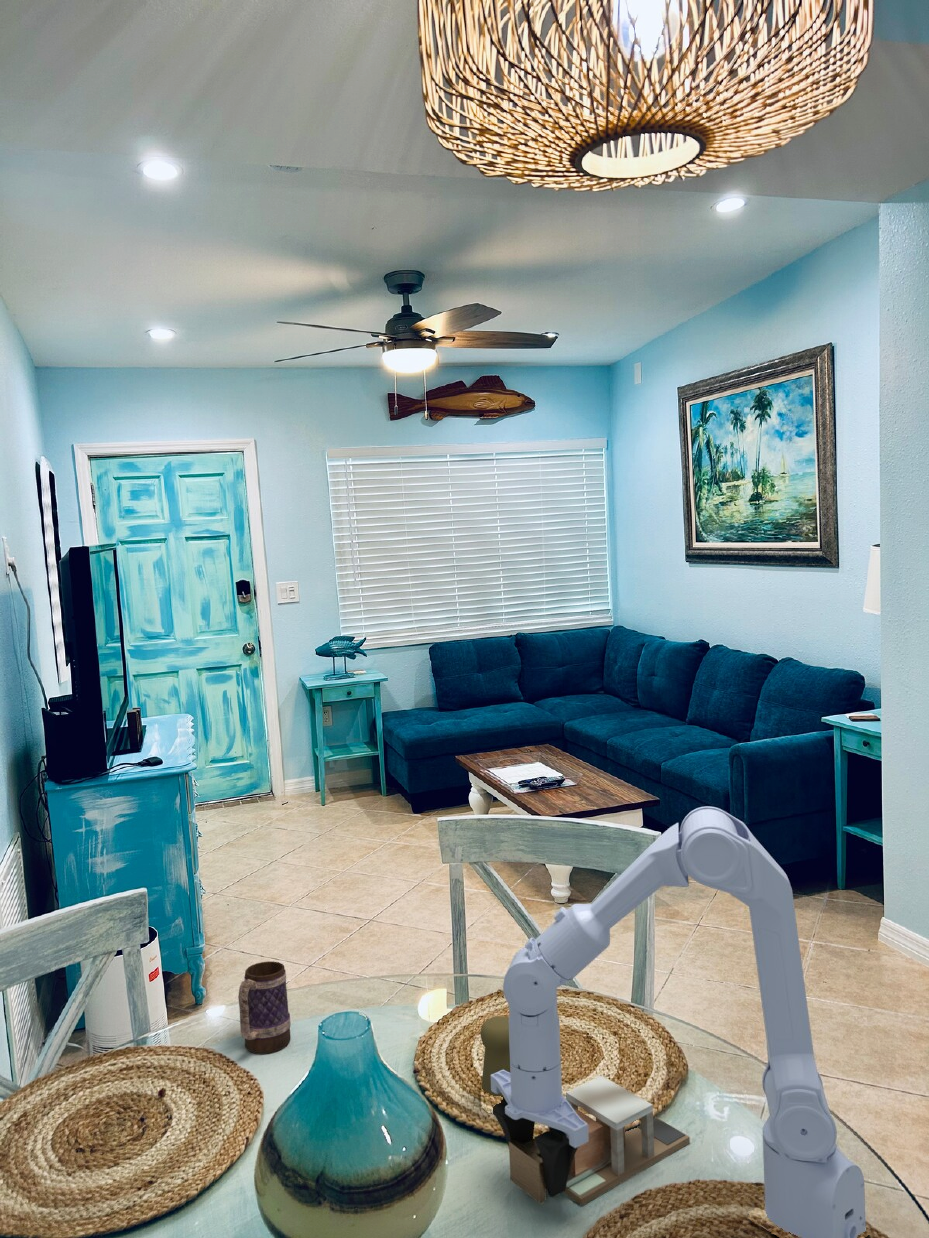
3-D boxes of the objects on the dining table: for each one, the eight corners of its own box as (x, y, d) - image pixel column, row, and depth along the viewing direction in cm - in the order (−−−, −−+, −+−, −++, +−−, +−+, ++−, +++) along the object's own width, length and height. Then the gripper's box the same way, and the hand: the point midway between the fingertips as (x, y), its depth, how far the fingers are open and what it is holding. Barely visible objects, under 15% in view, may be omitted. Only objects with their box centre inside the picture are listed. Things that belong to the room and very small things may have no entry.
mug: (260, 1029, 142) (257, 955, 141) (299, 1035, 139) (296, 959, 139) (222, 1061, 132) (219, 981, 132) (263, 1068, 130) (260, 986, 129)
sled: (634, 1151, 105) (632, 1112, 105) (540, 1203, 96) (538, 1161, 96) (602, 1131, 109) (601, 1094, 109) (510, 1179, 101) (508, 1139, 101)
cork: (508, 1120, 114) (505, 1035, 114) (470, 1105, 118) (467, 1023, 118) (534, 1098, 119) (531, 1017, 119) (497, 1085, 123) (494, 1006, 122)
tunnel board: (689, 1142, 108) (687, 1087, 108) (581, 1206, 97) (579, 1144, 97) (634, 1110, 115) (633, 1058, 115) (528, 1166, 105) (526, 1108, 105)
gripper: (468, 1045, 103) (472, 1161, 103) (551, 1099, 91) (556, 1229, 92) (515, 1027, 107) (519, 1138, 108) (600, 1075, 96) (605, 1200, 96)
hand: (539, 1178), depth 100 cm, fingers closed on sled, 5 cm apart
